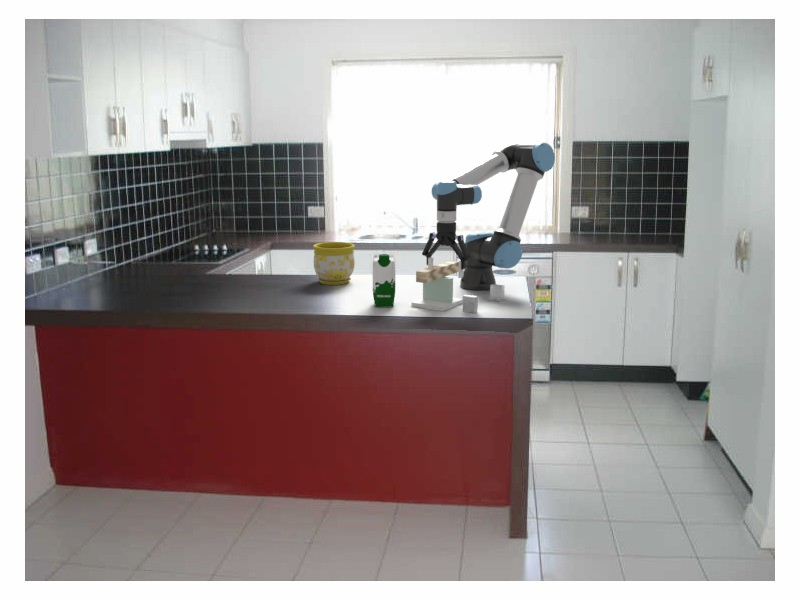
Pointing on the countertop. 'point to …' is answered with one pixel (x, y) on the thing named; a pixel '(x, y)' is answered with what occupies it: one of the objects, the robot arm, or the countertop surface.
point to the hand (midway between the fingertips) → (445, 275)
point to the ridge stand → (438, 295)
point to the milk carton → (384, 281)
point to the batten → (437, 271)
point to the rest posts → (472, 301)
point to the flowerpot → (334, 262)
